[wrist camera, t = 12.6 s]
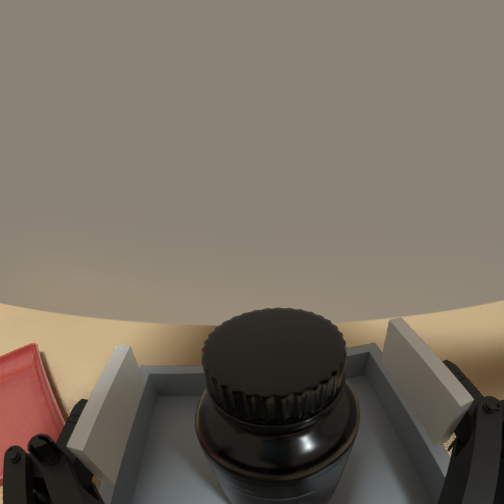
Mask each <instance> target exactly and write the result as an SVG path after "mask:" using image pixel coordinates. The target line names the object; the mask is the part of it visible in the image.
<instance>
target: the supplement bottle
mask: <svg viewBox="0 0 504 504" xmlns="http://www.w3.org/2000/svg"><path fill="white" fill-rule="evenodd" d="M346 358H347V352H346V342H345V340H344V339H343V334H342V333H341V332H340V331H338V327H337V326H335V325H333V324H332V323H331V321H330V320H327V319H324V318H323V317H322V316H320V315H316V314H314V313H313V312H307V311H304V310H301V309H292V308H273V309H270V308H268V309H267V308H266V309H263V310H255V311H252V312H248V313H243V314H242V315H240V316H235V317H233V318H232V319H231V320H228V321H225V322H223V323H222V325H220V326H218V327H216V328H215V330H214V331H213V332H211V333H210V334H209V336H208V339H207V340H206V341H205V342H204V347H203V349H202V367H203V371H204V374H205V378H206V389H205V391H204V392H203V394H202V396H201V398H200V400H199V402H198V405H197V408H196V413H195V430H196V435H197V438H198V441H199V443H200V446H201V448H202V451H203V453H204V455H205V457H206V459H207V461H208V463H209V465H210V467H211V469H212V471H213V473H214V475H215V477H216V479H217V480H218V482H219V484H220V486H221V488H222V490H223V491H224V493H225V495H226V497H227V498H228V500H229V501H230V503H231V504H327V503H328V501H329V500H330V499H331V497H332V495H333V493H334V491H335V489H336V487H337V485H338V483H339V480H340V478H341V476H342V473H343V471H344V468H345V466H346V464H347V461H348V458H349V456H350V453H351V450H352V448H353V445H354V442H355V439H356V436H357V433H358V429H359V423H360V407H359V402H358V399H357V396H356V394H355V392H354V390H353V388H352V387H351V385H350V384H349V382H348V381H347V380H346V371H345V365H346Z"/></svg>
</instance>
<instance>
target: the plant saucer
mask: <svg viewBox="0 0 504 504" xmlns="http://www.w3.org/2000/svg"><path fill="white" fill-rule="evenodd" d="M64 425H65V420H64V418H63V416H62V414H61V411H60V409H59V407H58V404H57V402H56V399H55V397H54V394H53V392H52V389H51V386H50V384H49V381H48V378H47V375H46V372H45V369H44V366H43V363H42V359H41V356H40V352H39V349H38V345H37V344H36V343H31V344H29V345H26V346H24V347H21V348H19V349H16V350H14V351H12V352H10V353H7V354H5V355H2V356H0V486H3V464H4V455H5V452H6V450H7V449H8V448H10V447H11V446H15V445H16V446H20V447H21V448H23V449H24V450H25V451H26V453H30V452H29V451H28V450H27V445H28V443H29V440H30V439H31V438H32V437H33V436H35V435H37V434H47V435H48V436H50V437H51V438H52V439H53V440H54V442H55V443H56V442H57V439H58V437H59V435H60V433H61V431H62V429H63V427H64Z"/></svg>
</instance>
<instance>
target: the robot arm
mask: <svg viewBox="0 0 504 504" xmlns="http://www.w3.org/2000/svg"><path fill="white" fill-rule="evenodd" d="M381 362H382V363H383V365H384V366H385V368H386V369H387V371H388V372H389V374H390V375H391V377H392V378H393V380H394V381H395V383H396V384H397V386H398V388H399V389H400V391H401V392H402V394H403V395H404V397H405V398H406V400H407V402H408V403H409V405H410V406H411V408H412V410H413V411H414V413H415V414H416V416H417V418H418V419H419V421H420V422H421V424H422V426H423V427H424V429H425V431H426V432H427V434H428V436H429V437H430V439H431V441H432V442H433V444H434V446H435V447H436V446H438V445H440V444H442V443H444V442H446V441H448V440H449V438H450V437H451V436H452V434H453V433H455V435H456V436H457V437H456V438H455V439H454V441H453V442H452V443H451V445H450V446H449V448H448V450H447V451H450V449H451V448H452V447H453V449H452V454H451V458H450V462H449V466H448V470H447V474H446V477H445V481H444V484H443V488H442V491H441V494H440V497H439V500H438V503H437V504H504V400H501V401H499V400H498V399H496V398H495V397H491V396H486V397H484V396H483V395H482V394H481V393H480V392H479V391H478V390H477V388H476V387H475V386H474V385H473V384H472V383H471V382H470V380H469V379H468V378H466V376H465V375H464V374H463V373H461V370H460V369H459V368H458V367H457V366H456V365H455V364H453V363H452V362H450V361H448V360H445V361H441V360H440V359H439V358H438V357H437V355H436V354H435V353H434V352H433V351H432V350H431V349H430V348H429V347H428V345H427V344H426V343H425V342H424V341H423V340H422V339H421V338H420V337H419V336H418V335H417V334H416V333H415V331H414V330H413V329H412V328H411V327H410V326H409V325H408V324H407V323H406V322H405V321H404V320H403V319H402V318H396V319H392V320H389V324H388V329H387V334H386V339H385V344H384V349H383V353H382V358H381ZM144 388H145V382H144V380H143V377H142V375H141V372H140V370H139V367H138V365H137V362H136V359H135V357H134V354H133V351H132V348H131V346H122V345H117V347H116V349H115V351H114V353H113V354H112V356H111V358H110V360H109V362H108V363H107V365H106V367H105V369H104V371H103V373H102V375H101V376H100V378H99V380H98V382H97V384H96V386H95V388H94V390H93V392H92V394H91V396H90V398H89V400H86V399H81V400H80V401H79V402H78V403H77V404H76V405H75V406H74V408H73V409H72V411H71V413H70V416H69V417H68V419H67V422H66V423H65V425H64V427H63V429H62V431H61V433H60V435H59V437H58V439H57V442H56V443H55V442H54V440H53V439H52V438H51V437H50V436H48V435H47V434H37V435H35V436H33V437H32V438H31V439H30V440H29V443H28V445H27V450H28V451H29V452H30V453H26V451H25V450H24V449H23V448H21V447H20V446H16V445H15V446H11V447H10V448H8V449H7V450H6V452H5V455H4V464H3V504H105V503H104V501H103V499H102V497H101V496H100V494H99V492H98V490H97V488H96V486H95V484H94V483H93V482H92V477H93V475H94V476H95V477H96V478H97V479H98V480H99V481H101V482H105V483H110V484H114V485H115V483H116V480H117V476H118V472H119V469H120V465H121V461H122V458H123V454H124V451H125V448H126V444H127V441H128V438H129V434H130V431H131V428H132V425H133V421H134V418H135V415H136V412H137V409H138V406H139V403H140V400H141V397H142V394H143V391H144Z"/></svg>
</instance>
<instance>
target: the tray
mask: <svg viewBox="0 0 504 504" xmlns="http://www.w3.org/2000/svg"><path fill="white" fill-rule="evenodd" d="M346 352H347V358H346V365H345V371H346V380H347V381H348V382H349V384H350V385H351V387H352V388H353V390H354V392H355V394H356V396H357V399H358V402H359V407H360V423H359V429H358V433H357V436H356V439H355V442H354V445H353V448H352V450H351V453H350V456H349V458H348V461H347V464H346V466H345V468H344V471H343V473H342V476H341V478H340V480H339V483H338V485H337V487H336V489H335V491H334V493H333V495H332V497H331V499H330V500H329V501H328V503H327V504H437V503H438V500H439V497H440V494H441V491H442V488H443V484H444V481H445V477H446V474H447V470H448V466H449V462H450V456H449V454H448V453H447V451H446V449H445V448H444V446H443V444H440V445H438V446H436V447H435V446H434V444H433V442H432V441H431V439H430V437H429V436H428V434H427V432H426V431H425V429H424V427H423V426H422V424H421V422H420V421H419V419H418V418H417V416H416V414H415V413H414V411H413V410H412V408H411V406H410V405H409V403H408V402H407V400H406V398H405V397H404V395H403V394H402V392H401V391H400V389H399V388H398V386H397V384H396V383H395V381H394V380H393V378H392V377H391V375H390V374H389V372H388V371H387V369H386V368H385V366H384V365H383V363H382V362H381V358H382V352H381V351H380V349H379V348H378V346H377V345H376V344H375V343H371V344H366V345H362V346H357V347H352V348H347V349H346ZM140 372H141V375H142V377H143V380H144V382H145V388H144V391H143V394H142V397H141V400H140V403H139V406H138V409H137V412H136V415H135V418H134V421H133V425H132V428H131V431H130V434H129V438H128V441H127V444H126V448H125V451H124V454H123V458H122V461H121V465H120V469H119V472H118V476H117V480H116V483H115V485H114V484H110V483H105V482H100V486H99V489H98V492H99V494H100V496H101V497H102V499H103V501H104V503H105V504H231V503H230V501H229V500H228V498H227V497H226V495H225V493H224V491H223V490H222V488H221V486H220V484H219V482H218V480H217V479H216V477H215V475H214V473H213V471H212V469H211V467H210V465H209V463H208V461H207V459H206V457H205V455H204V453H203V451H202V448H201V446H200V443H199V441H198V438H197V435H196V430H195V413H196V408H197V405H198V402H199V400H200V398H201V396H202V394H203V392H204V391H205V389H206V378H205V374H204V371H203V367H202V365H191V366H141V368H140Z"/></svg>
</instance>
